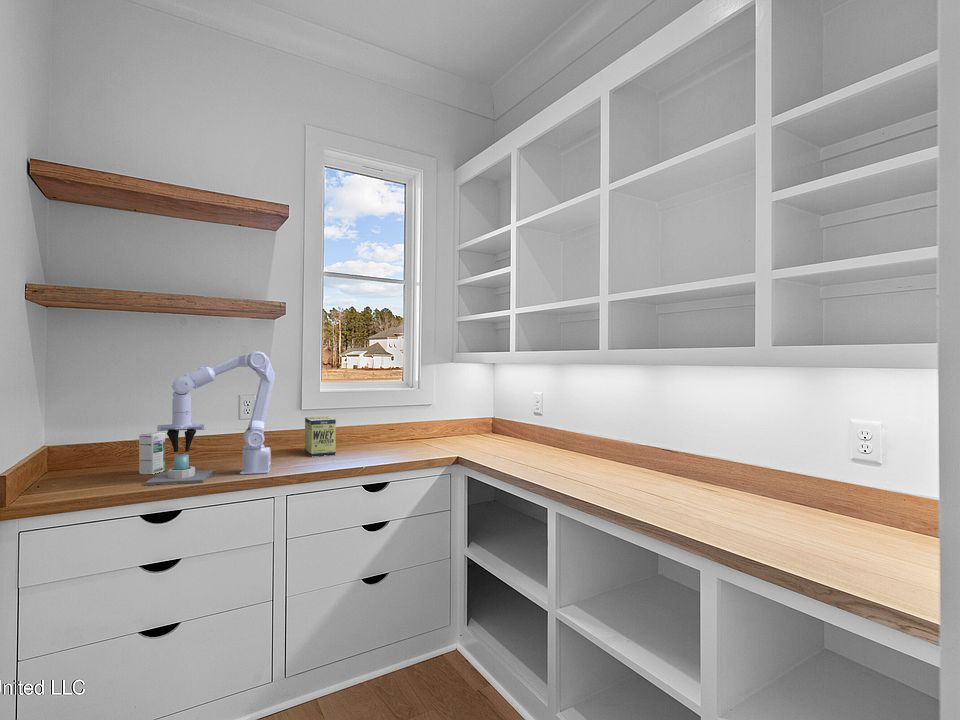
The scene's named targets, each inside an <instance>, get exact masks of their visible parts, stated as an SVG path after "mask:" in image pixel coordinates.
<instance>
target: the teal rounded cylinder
mask: <svg viewBox="0 0 960 720" xmlns="http://www.w3.org/2000/svg"><path fill="white" fill-rule="evenodd" d="M189 456H190V454H175V455H173V468H174V470H187V469H189V465H190V464H189V463H190V461H189V459H190V458H189Z"/></svg>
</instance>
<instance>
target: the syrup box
mask: <svg viewBox="0 0 960 720" xmlns="http://www.w3.org/2000/svg"><path fill="white" fill-rule="evenodd" d="M138 439H139V440H138V441H139V442H138V446H139V447H138V451H139V452H138V453H139V454H138V455H139V456H138V457H139V458H138V459H139V461H138V462H139V467H138V469H139V474H140V475H147V474H153V475H156V474H160V473H161V472H163V471H165V472H166V433H165V432H164V431H152V432H151V431H150V432H146V433H140V434H139V435H138ZM159 472H160V473H159ZM155 473H156V474H155Z"/></svg>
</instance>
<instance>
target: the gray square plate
mask: <svg viewBox="0 0 960 720" xmlns="http://www.w3.org/2000/svg"><path fill="white" fill-rule="evenodd" d="M214 473H215V469H209V470H207V469H204V470H196V467H195V466H189V469H187V470H174V467H171V468H168V469H167V471H165V472H160V473H157V474H155V475H154V476H153V477H151V478H150V479H149V480H147V481H145V482H144V486H145V485H149V486H157V485H156V484H168V485H174V484H173V483H188V484H200V483H199V482H203V483H205V482H206V481H207V480H208V479H209V478H210V477H211V476H212V475H213V474H214ZM209 476H210V477H209ZM208 477H209V478H208ZM207 478H208V479H207Z"/></svg>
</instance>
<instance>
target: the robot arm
mask: <svg viewBox="0 0 960 720" xmlns="http://www.w3.org/2000/svg"><path fill="white" fill-rule="evenodd" d="M238 367H240V368H241V367H242V368H248V367H249V368H250V369H251V370H253V371H255V373H256V375H258V377H259V378H260V380H259V384H258V389H257V393H256V398H255V400H254V405H253V409H252V412H251V417H250V420H249V423H248V426H247V428H246V430H245V431H244V432H243V434H242V439H243V442H244V443H245V444H244V445H243V446H242V470H241V471H240V472H239V475H250V474H251V475H253V474H269V472H270V471H271V469H272V468H271V467H272V462H271V459H272V458H271V457H272V453H271V451H272V450H271V447H267V446H266V447H265V444H264V443H265V435H264V432H265V431H264V430H265V422H266V417H267V414H268V413H267V412H268V408H269V405H270V401H271V395H272V392H273V388H274V383H275V379H276V374H275V371H274V369H273V366H272V363H271V360H270V358H269V357H268V356H267V354H265V353H264V352H262V351H257V350H256V351H251V352H249V353H245V354H241V355H238V356H235V357H233V358H231V359H229V360H226V361H224V362H222V363H220V364H218V365H215V366H214V367H209V366H204V367H203V366H200V367H198V369H196V370H194V371H191V372H189V373H188V372H186V373H184V374H183V375H184V376H179V377H177V378H175V379H174V381H173V383H172V385H171V387H172V390H173V393H172V400H171V401H172V403H171V404H172V405H171V406H172V408H171V409H172V413H171V414H172V415H171V416H172V417H171V418H172V423H171V424H158V425H157V426H156V432H164V431H165V432H166V435H167V437H168V438H169V440H170V443H171V444H172V448H173V453H177V452H179V435H180V434H179V433H180V431H184V439H185V445H184V451H185V452H186V453H188V452H190V449H191V444H192V441H193V438H194V437H195V435H196V434H197V431H205V430H206V429H207V427H206V426H207V424H206V423H192V409H193V408H192V397H191V394H192V392H191V391H192V390H193V389H199V388H200V387H202V386H205V385H208V384H209V383H212V382H214V381H215V378H216V376H219V375H221V374H223V373H226V372H228V371H231V370H234V369H236V368H238Z"/></svg>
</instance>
